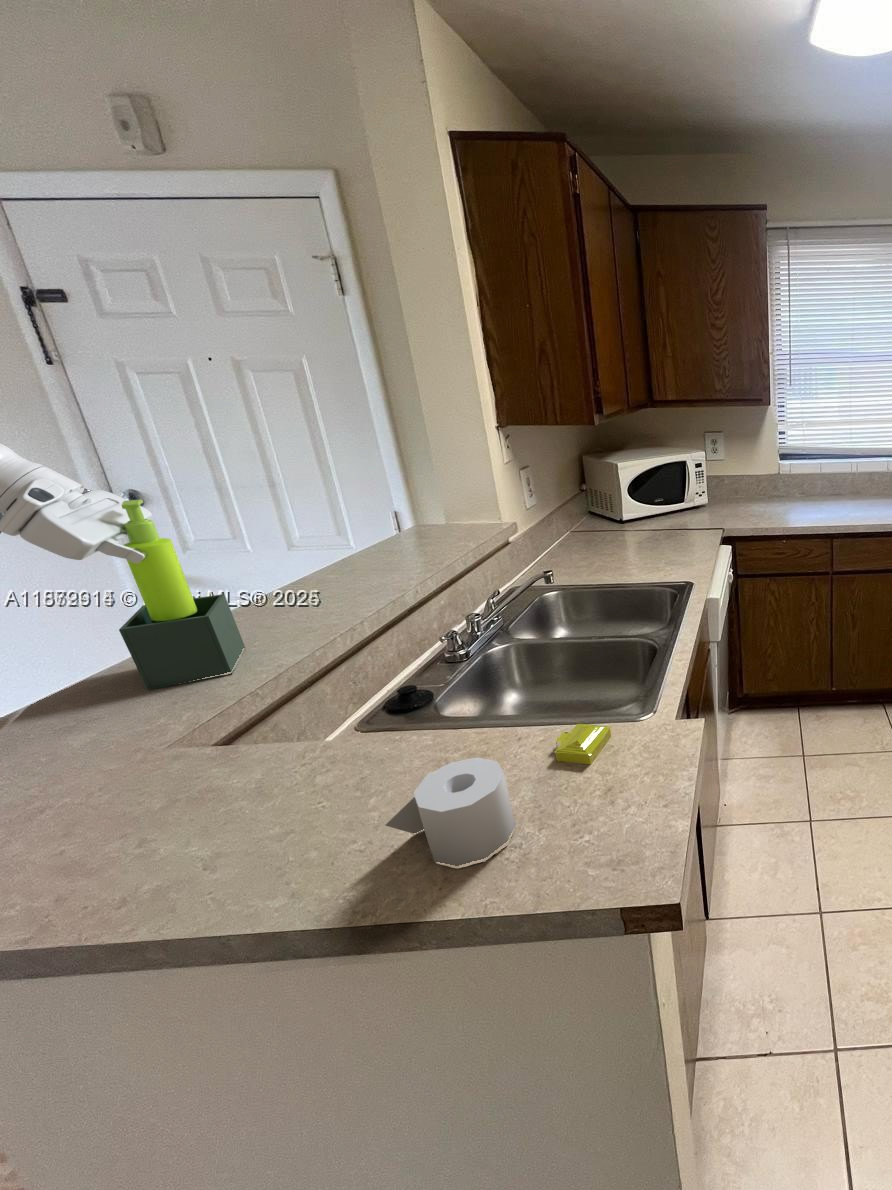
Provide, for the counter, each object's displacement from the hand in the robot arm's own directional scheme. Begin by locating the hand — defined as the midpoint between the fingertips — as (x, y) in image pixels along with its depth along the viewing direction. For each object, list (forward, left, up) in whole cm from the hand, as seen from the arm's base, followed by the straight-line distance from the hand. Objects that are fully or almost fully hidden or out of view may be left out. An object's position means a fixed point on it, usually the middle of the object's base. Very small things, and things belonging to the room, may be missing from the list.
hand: (154, 552), depth 103 cm
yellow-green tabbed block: (+55, -58, -22) cm, 83 cm away
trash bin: (0, 0, -22) cm, 22 cm away
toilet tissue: (+39, -69, -22) cm, 82 cm away
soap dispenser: (-1, 0, -12) cm, 12 cm away
